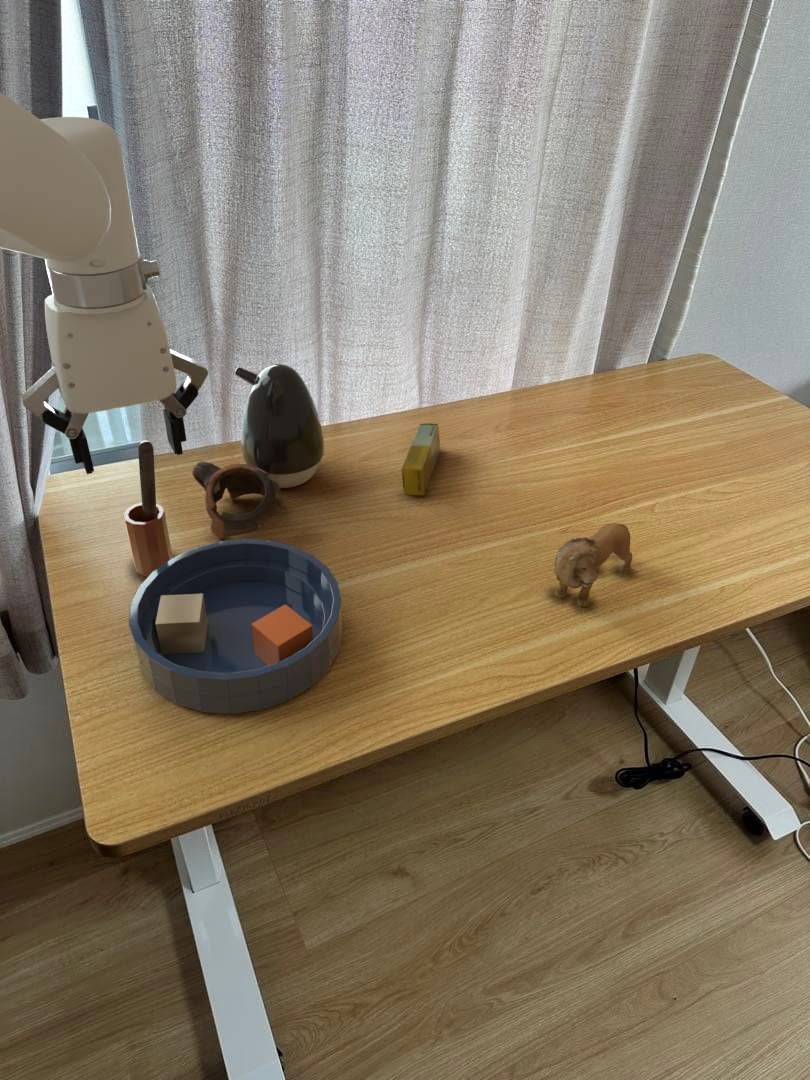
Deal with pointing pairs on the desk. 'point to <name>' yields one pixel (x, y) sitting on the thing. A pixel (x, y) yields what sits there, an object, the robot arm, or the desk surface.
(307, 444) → the pump dispenser
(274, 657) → the orange block
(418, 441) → the medication box
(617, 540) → the lion figurine
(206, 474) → the pottery mug
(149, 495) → the stick
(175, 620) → the pale block
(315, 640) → the bowl
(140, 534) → the holder
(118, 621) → the desk surface
